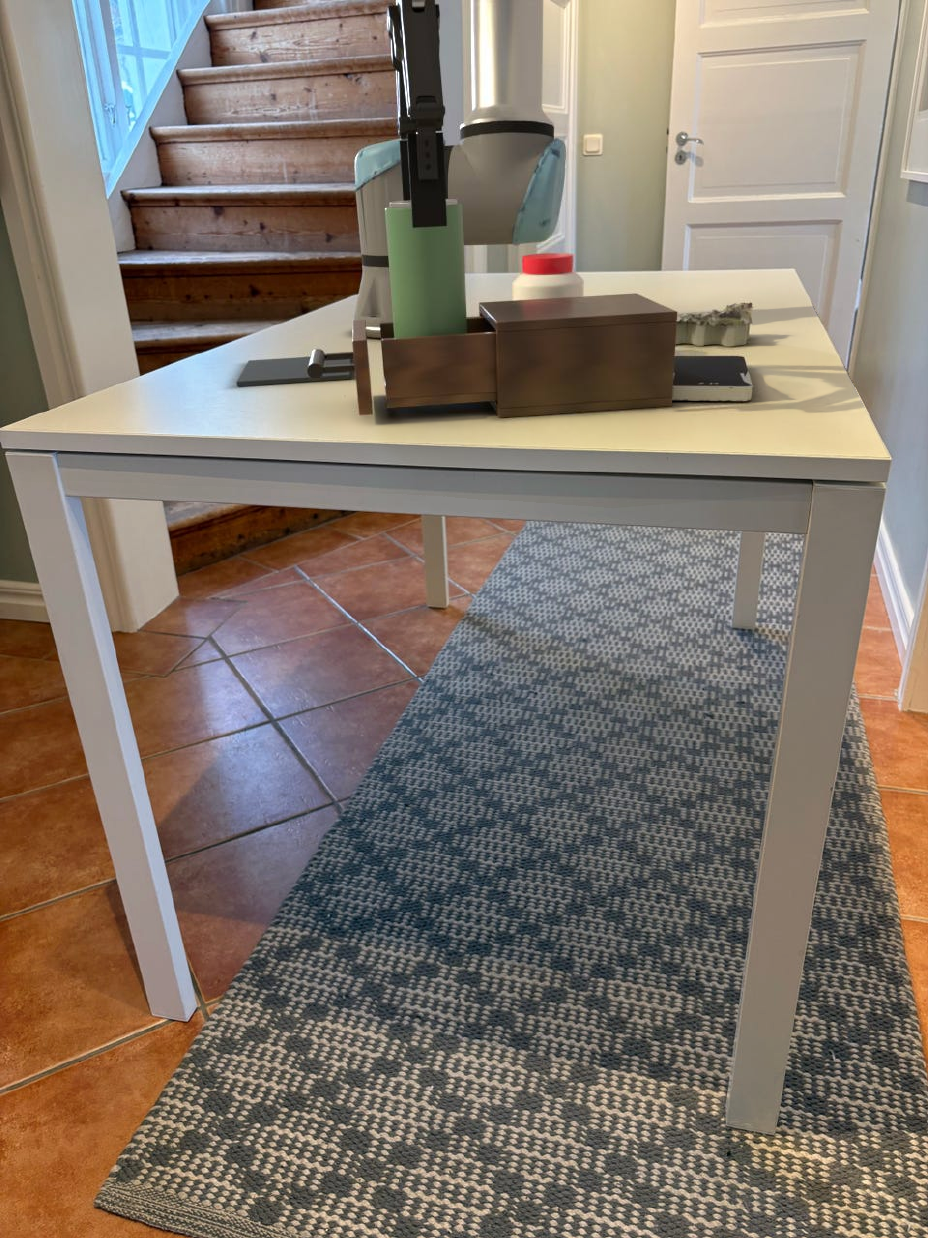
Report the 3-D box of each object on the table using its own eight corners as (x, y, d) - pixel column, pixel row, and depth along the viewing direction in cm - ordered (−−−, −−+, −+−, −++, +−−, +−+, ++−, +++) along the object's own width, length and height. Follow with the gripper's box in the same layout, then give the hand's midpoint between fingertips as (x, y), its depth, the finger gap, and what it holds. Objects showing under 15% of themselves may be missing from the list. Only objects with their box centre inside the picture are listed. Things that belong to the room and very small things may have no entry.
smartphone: (744, 355, 92) (753, 387, 79) (742, 368, 93) (751, 402, 80) (668, 355, 94) (665, 386, 81) (667, 368, 95) (664, 401, 82)
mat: (249, 364, 106) (248, 360, 106) (351, 358, 107) (350, 353, 106) (236, 386, 95) (236, 381, 95) (350, 379, 96) (349, 374, 96)
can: (396, 378, 86) (383, 201, 79) (465, 373, 86) (457, 197, 79) (399, 393, 80) (385, 203, 73) (472, 388, 81) (465, 200, 74)
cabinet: (498, 417, 79) (496, 322, 75) (481, 386, 90) (478, 302, 86) (671, 406, 80) (677, 311, 76) (633, 376, 91) (636, 293, 88)
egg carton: (753, 337, 108) (757, 301, 106) (743, 348, 102) (747, 311, 100) (665, 333, 112) (668, 299, 110) (651, 344, 106) (653, 308, 104)
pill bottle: (579, 368, 96) (581, 258, 91) (508, 368, 98) (506, 260, 93) (585, 354, 103) (587, 250, 98) (518, 354, 104) (517, 252, 99)
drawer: (310, 418, 78) (301, 343, 75) (316, 389, 88) (308, 322, 85) (523, 404, 79) (522, 330, 76) (504, 377, 89) (503, 311, 87)
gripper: (357, -48, 78) (377, 218, 88) (356, -137, 56) (383, 232, 65) (442, -50, 79) (453, 215, 88) (476, -139, 57) (485, 227, 66)
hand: (424, 223), depth 77 cm, fingers open, 13 cm apart
